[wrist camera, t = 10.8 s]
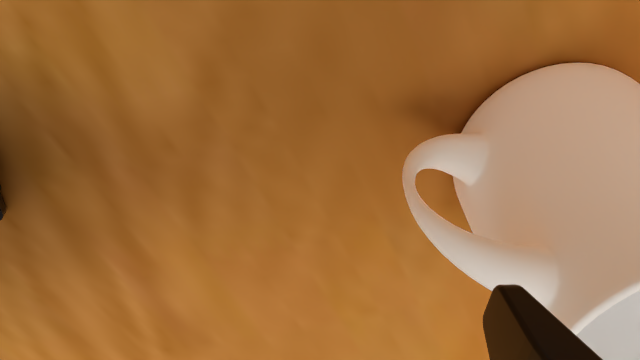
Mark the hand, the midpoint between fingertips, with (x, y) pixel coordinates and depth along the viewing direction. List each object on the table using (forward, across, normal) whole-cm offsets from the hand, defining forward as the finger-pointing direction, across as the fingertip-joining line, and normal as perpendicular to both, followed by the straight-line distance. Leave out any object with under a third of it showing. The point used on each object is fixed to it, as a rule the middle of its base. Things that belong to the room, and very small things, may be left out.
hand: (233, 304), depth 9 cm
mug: (+13, -11, +5) cm, 18 cm away
